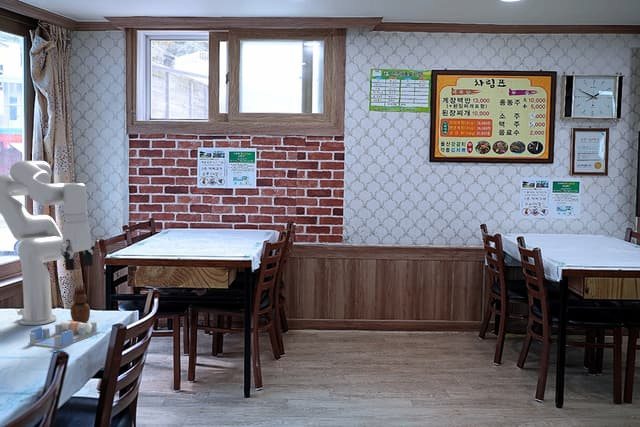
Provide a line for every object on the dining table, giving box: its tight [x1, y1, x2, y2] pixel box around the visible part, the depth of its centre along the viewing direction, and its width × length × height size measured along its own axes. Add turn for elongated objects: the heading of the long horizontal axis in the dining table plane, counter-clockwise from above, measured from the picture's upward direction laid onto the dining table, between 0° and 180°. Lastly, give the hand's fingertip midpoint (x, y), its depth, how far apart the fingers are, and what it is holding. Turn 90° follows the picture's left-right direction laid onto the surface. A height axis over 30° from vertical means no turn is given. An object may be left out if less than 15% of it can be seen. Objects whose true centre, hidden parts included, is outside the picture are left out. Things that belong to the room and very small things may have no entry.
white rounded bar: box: [60, 320, 92, 333], centre depth 227 cm, size 11×4×4 cm, turn 70°
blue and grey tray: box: [28, 319, 100, 349], centre depth 221 cm, size 13×19×5 cm
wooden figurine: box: [70, 283, 91, 323], centre depth 242 cm, size 7×6×15 cm
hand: (79, 267), depth 227 cm, fingers open, 9 cm apart
